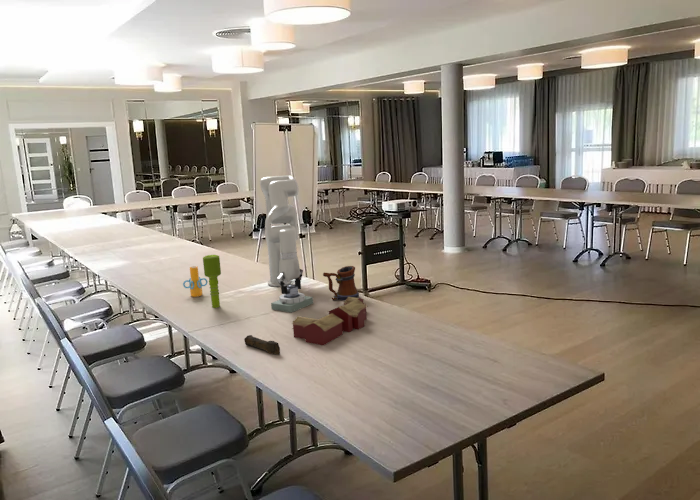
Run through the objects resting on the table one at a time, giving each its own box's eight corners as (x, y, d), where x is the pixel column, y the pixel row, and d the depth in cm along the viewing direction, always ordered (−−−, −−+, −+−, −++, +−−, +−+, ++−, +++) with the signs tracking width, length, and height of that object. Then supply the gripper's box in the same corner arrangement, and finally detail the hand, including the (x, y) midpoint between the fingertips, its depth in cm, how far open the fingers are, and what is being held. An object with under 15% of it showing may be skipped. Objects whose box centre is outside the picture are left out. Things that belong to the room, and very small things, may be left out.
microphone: (220, 309, 273) (215, 257, 268) (205, 308, 274) (199, 257, 270) (227, 304, 281) (222, 253, 276) (212, 304, 282) (207, 253, 277)
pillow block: (293, 300, 281) (292, 290, 280) (313, 303, 275) (312, 292, 274) (271, 309, 268) (270, 298, 267) (291, 312, 262) (290, 301, 261)
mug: (331, 304, 271) (329, 273, 268) (319, 299, 280) (317, 269, 277) (363, 297, 280) (362, 267, 277) (351, 292, 289) (349, 263, 286)
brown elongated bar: (244, 346, 223) (243, 334, 222) (253, 343, 226) (252, 331, 225) (273, 358, 210) (272, 346, 209) (282, 355, 212) (281, 342, 211)
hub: (291, 297, 275) (290, 283, 274) (301, 299, 272) (300, 284, 271) (283, 300, 270) (282, 286, 269) (293, 302, 267) (292, 287, 266)
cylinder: (200, 298, 293) (197, 269, 290) (181, 298, 295) (178, 269, 292) (211, 292, 304) (208, 264, 301) (192, 292, 306) (189, 264, 304)
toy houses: (329, 347, 217) (327, 321, 215) (286, 339, 228) (284, 314, 226) (387, 313, 254) (386, 291, 252) (348, 308, 265) (347, 286, 263)
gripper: (294, 251, 276) (297, 286, 279) (270, 258, 262) (273, 295, 265) (307, 252, 272) (309, 287, 275) (282, 260, 258) (285, 297, 261)
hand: (291, 291), depth 270 cm, fingers open, 9 cm apart
